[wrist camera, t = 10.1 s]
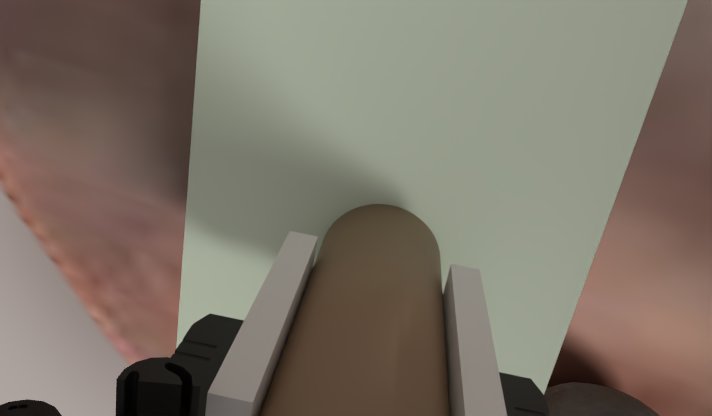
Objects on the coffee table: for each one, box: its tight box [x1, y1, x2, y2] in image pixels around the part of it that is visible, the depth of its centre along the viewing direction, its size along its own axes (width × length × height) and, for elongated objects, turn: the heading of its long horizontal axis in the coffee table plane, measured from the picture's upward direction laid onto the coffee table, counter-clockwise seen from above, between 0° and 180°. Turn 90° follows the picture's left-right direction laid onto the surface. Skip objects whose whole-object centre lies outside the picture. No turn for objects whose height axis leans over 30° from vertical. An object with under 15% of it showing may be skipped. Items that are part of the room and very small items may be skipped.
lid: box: [176, 0, 688, 416], centre depth 15 cm, size 12×26×11 cm, turn 170°
